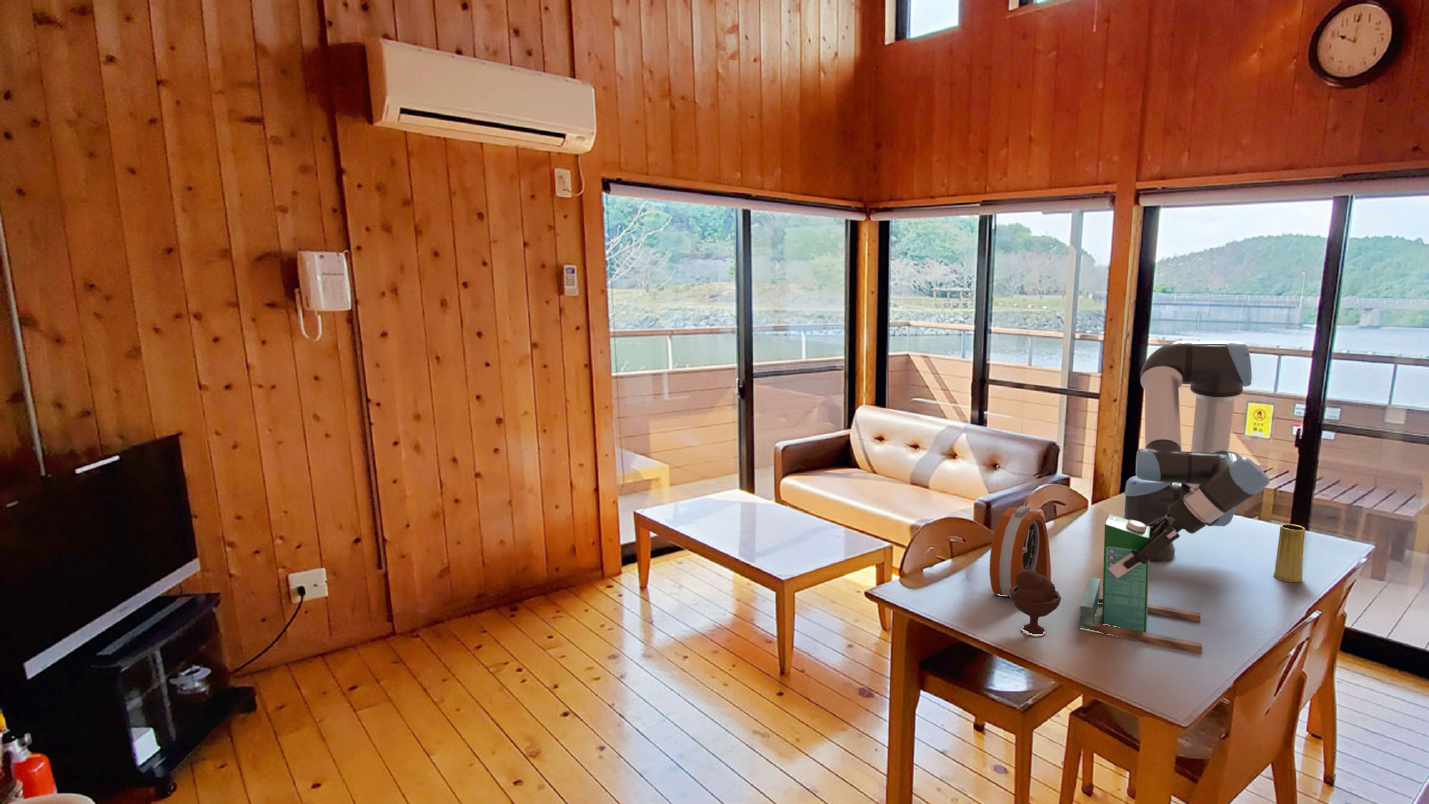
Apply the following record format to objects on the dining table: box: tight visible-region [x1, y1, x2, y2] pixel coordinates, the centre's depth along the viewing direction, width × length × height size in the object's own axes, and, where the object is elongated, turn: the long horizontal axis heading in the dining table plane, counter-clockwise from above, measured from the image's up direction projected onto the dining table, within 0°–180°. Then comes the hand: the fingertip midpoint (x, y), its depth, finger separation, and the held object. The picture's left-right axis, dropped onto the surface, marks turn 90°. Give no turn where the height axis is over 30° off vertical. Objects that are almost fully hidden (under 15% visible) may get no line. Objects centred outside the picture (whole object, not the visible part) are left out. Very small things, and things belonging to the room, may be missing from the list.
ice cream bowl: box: [1010, 569, 1062, 634], centre depth 172 cm, size 11×11×15 cm
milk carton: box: [1101, 513, 1151, 633], centre depth 175 cm, size 9×9×25 cm
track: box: [1079, 576, 1203, 654], centre depth 174 cm, size 24×19×6 cm
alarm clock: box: [989, 505, 1052, 597], centre depth 194 cm, size 22×10×23 cm, turn 137°
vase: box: [1273, 523, 1306, 583], centre depth 196 cm, size 6×6×14 cm
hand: (1115, 563), depth 176 cm, fingers open, 13 cm apart
